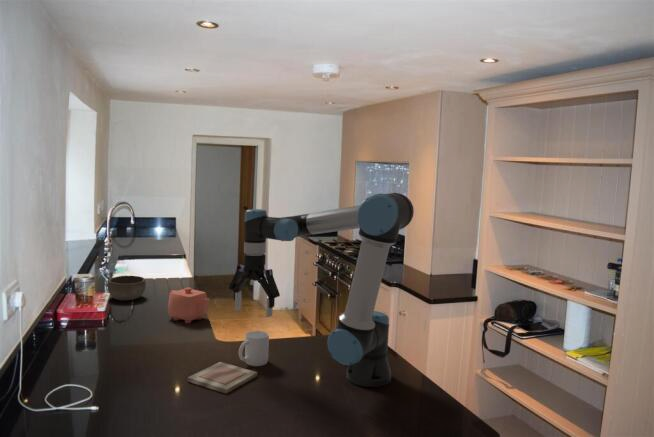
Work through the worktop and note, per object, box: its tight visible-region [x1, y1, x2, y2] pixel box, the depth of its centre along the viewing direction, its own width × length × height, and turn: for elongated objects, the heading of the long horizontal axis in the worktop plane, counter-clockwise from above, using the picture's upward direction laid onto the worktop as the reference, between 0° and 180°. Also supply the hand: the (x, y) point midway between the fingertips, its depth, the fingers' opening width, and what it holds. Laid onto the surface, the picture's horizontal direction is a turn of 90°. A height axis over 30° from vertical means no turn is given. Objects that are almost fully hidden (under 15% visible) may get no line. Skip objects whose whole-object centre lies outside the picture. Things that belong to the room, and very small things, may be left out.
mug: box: [238, 330, 270, 367], centre depth 188 cm, size 12×8×10 cm
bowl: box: [107, 275, 147, 302], centre depth 264 cm, size 17×18×10 cm
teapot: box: [167, 287, 210, 324], centre depth 235 cm, size 22×13×14 cm, turn 61°
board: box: [187, 361, 258, 394], centre depth 174 cm, size 16×16×2 cm
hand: (253, 313), depth 186 cm, fingers open, 13 cm apart
